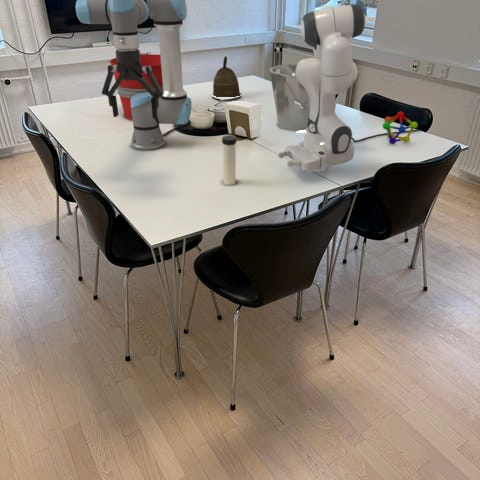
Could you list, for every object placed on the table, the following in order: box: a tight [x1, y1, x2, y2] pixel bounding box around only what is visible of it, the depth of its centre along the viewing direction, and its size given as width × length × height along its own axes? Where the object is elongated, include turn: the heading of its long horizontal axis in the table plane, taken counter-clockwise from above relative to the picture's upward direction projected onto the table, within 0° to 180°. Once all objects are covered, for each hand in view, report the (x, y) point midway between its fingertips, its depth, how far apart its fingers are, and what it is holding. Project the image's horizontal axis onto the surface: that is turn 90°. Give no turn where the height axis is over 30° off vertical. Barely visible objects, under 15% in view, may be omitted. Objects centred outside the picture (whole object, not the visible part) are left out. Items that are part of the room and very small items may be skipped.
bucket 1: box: [106, 51, 163, 121], centre depth 240 cm, size 35×35×30 cm
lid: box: [221, 135, 237, 145], centre depth 163 cm, size 5×5×2 cm
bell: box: [212, 56, 242, 97], centre depth 278 cm, size 19×26×20 cm
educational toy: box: [382, 110, 418, 145], centre depth 207 cm, size 16×13×15 cm
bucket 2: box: [269, 63, 310, 131], centre depth 226 cm, size 30×30×28 cm
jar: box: [222, 143, 237, 186], centre depth 167 cm, size 5×5×18 cm
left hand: (135, 116), depth 150 cm, fingers open, 13 cm apart
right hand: (283, 159), depth 174 cm, fingers open, 8 cm apart
